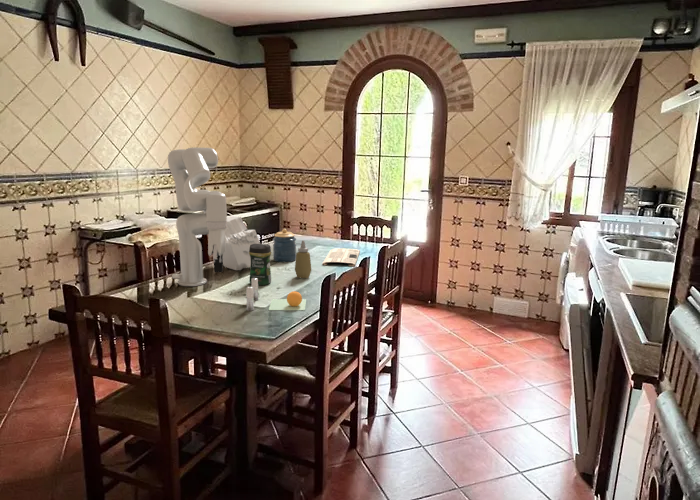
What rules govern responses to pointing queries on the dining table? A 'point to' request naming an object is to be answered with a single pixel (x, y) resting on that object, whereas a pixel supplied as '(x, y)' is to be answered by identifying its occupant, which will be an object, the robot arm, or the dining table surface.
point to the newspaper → (342, 256)
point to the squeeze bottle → (303, 262)
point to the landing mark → (286, 305)
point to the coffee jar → (260, 263)
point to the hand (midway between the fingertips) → (218, 271)
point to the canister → (284, 246)
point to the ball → (294, 298)
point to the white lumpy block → (238, 244)
